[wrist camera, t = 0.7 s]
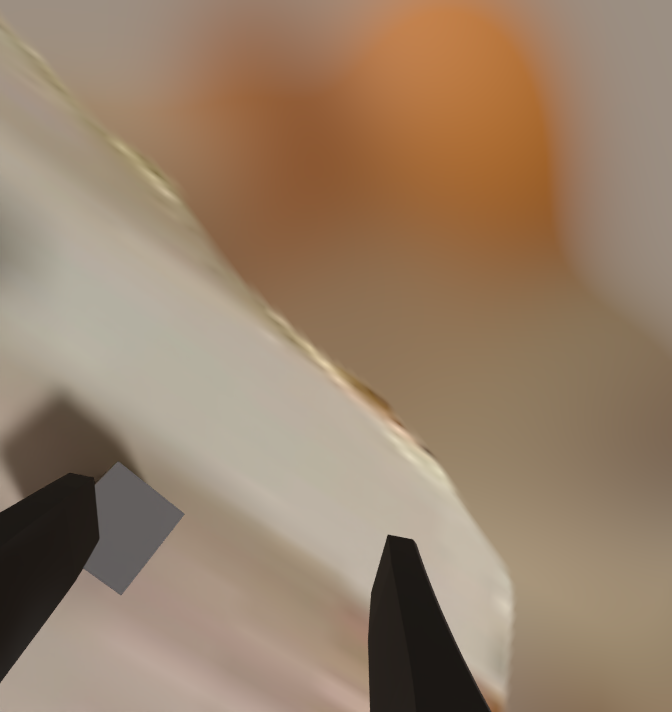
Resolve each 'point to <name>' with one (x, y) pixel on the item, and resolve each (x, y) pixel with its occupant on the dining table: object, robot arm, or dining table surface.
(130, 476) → the grey matte cube
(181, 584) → the dining table surface
